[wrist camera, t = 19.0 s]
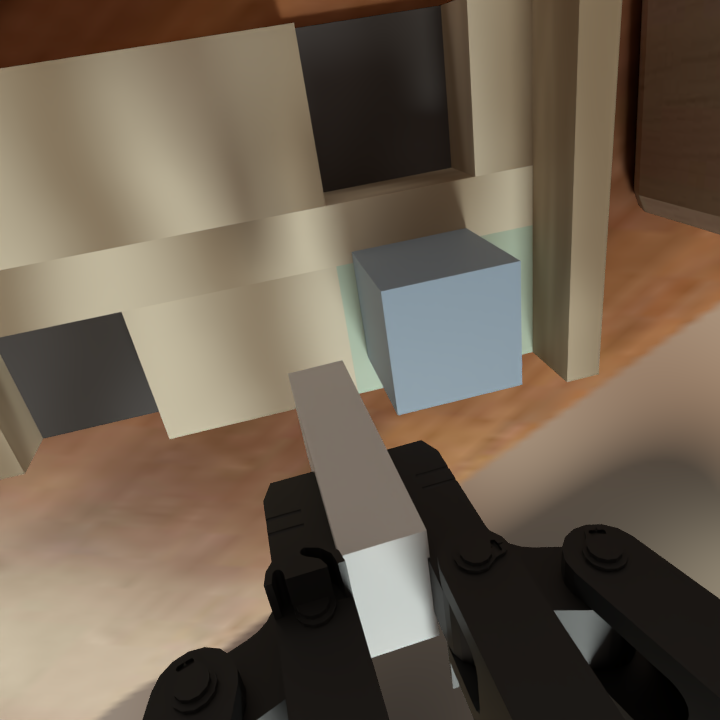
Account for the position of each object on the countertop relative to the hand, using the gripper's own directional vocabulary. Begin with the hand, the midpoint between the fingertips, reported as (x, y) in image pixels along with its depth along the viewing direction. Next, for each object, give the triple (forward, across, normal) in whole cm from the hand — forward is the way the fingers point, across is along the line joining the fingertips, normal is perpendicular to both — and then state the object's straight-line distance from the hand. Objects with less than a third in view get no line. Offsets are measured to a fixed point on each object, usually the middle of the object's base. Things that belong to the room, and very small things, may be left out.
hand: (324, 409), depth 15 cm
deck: (+7, +2, -3) cm, 8 cm away
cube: (+5, -4, -1) cm, 6 cm away
